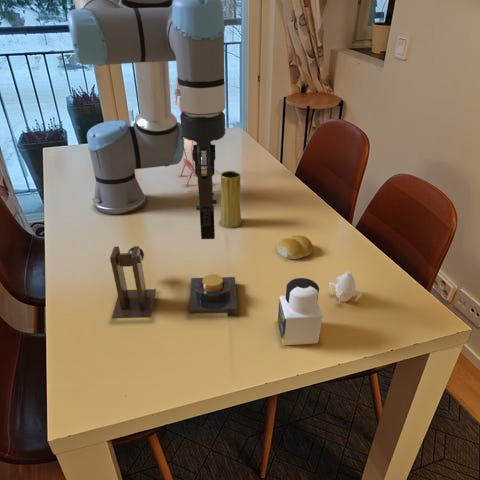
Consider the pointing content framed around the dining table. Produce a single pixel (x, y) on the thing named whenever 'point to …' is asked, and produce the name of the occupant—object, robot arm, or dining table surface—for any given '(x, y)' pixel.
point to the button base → (213, 298)
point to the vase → (230, 199)
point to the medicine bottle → (300, 313)
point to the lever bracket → (131, 300)
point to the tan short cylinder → (212, 283)
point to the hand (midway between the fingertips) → (208, 237)
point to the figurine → (186, 162)
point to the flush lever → (128, 258)
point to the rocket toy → (345, 287)
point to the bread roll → (295, 247)
